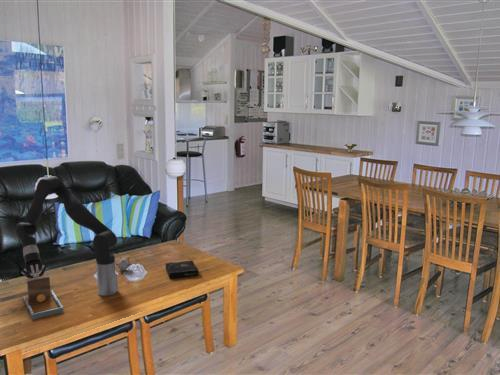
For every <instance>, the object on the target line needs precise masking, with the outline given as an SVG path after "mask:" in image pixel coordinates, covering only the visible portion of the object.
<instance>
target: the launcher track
mask: <svg viewBox="0 0 500 375" xmlns="http://www.w3.org/2000/svg"><path fill="white" fill-rule="evenodd" d="M50 291H51V297H52V298H53V300H54V301H55V304H57V299H59V298H58V296H57V295H56V293H55V292H54V290H52V289H50ZM23 302H24V303H25V306H26V308H27V311H28V312H29V308H28V306H31V305H30V303H29V300H28V297H27V296H26V295H25V296H23Z"/></svg>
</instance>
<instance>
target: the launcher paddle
mask: <svg viewBox="0 0 500 375" xmlns="http://www.w3.org/2000/svg"><path fill="white" fill-rule="evenodd" d="M50 280H51V279H50V276H49V274H48V275H47V274H46V275H43V276H41V277H36V278H31V279H29V278H27V279H26V284H27V296H28V297H27V299H28V302H35V301H37V296H38V295H39V294H43V295H45V299H48V298H51V297H52V294H51V284H50V283H51V282H50Z"/></svg>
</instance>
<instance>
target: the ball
mask: <svg viewBox="0 0 500 375" xmlns="http://www.w3.org/2000/svg"><path fill="white" fill-rule="evenodd" d="M45 300H46V298H45V295H43V294H39V295H38V296H37V300H36V301H37V302H38V303H43V302H44V301H45Z"/></svg>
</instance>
